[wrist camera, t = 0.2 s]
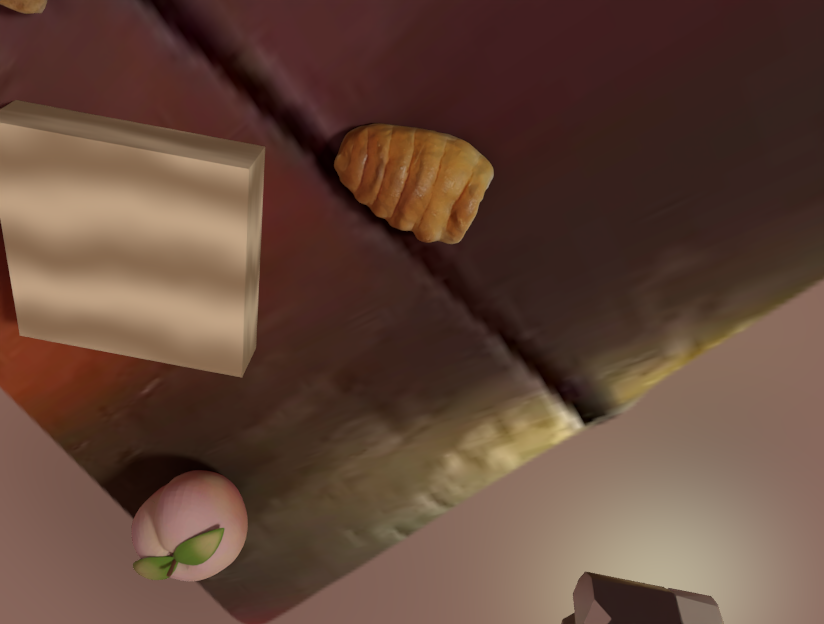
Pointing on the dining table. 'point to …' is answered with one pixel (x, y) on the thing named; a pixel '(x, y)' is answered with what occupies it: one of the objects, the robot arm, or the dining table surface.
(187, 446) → the dining table surface
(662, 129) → the dining table surface
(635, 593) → the robot arm
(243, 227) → the birch base
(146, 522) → the decorative fruit
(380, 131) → the pastry
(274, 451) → the dining table surface
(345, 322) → the dining table surface
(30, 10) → the cork boot vase
